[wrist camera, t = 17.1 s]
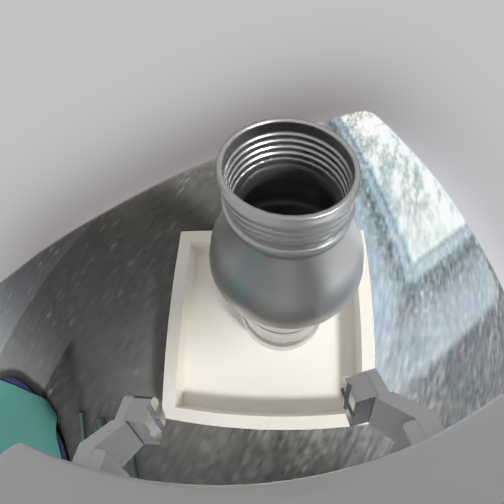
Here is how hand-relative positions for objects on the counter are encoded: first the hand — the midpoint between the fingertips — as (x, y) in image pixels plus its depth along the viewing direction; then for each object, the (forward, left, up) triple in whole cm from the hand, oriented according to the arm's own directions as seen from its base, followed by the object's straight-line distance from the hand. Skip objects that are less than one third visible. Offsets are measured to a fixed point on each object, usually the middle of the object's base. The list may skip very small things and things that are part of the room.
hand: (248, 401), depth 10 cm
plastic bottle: (+6, -1, -13) cm, 15 cm away
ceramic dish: (+5, 0, -14) cm, 15 cm away
